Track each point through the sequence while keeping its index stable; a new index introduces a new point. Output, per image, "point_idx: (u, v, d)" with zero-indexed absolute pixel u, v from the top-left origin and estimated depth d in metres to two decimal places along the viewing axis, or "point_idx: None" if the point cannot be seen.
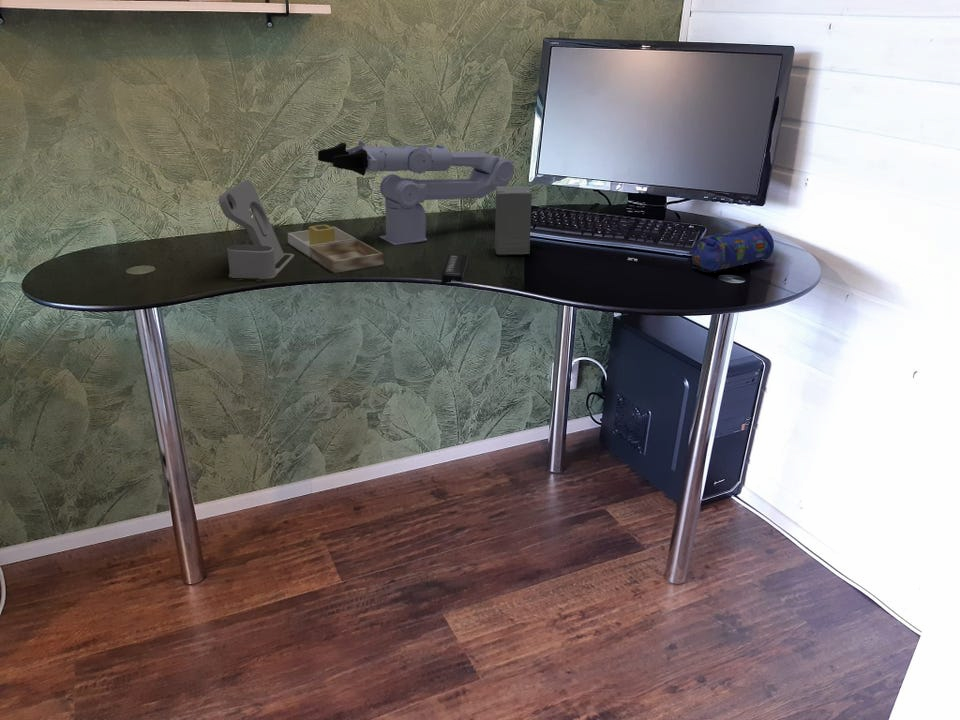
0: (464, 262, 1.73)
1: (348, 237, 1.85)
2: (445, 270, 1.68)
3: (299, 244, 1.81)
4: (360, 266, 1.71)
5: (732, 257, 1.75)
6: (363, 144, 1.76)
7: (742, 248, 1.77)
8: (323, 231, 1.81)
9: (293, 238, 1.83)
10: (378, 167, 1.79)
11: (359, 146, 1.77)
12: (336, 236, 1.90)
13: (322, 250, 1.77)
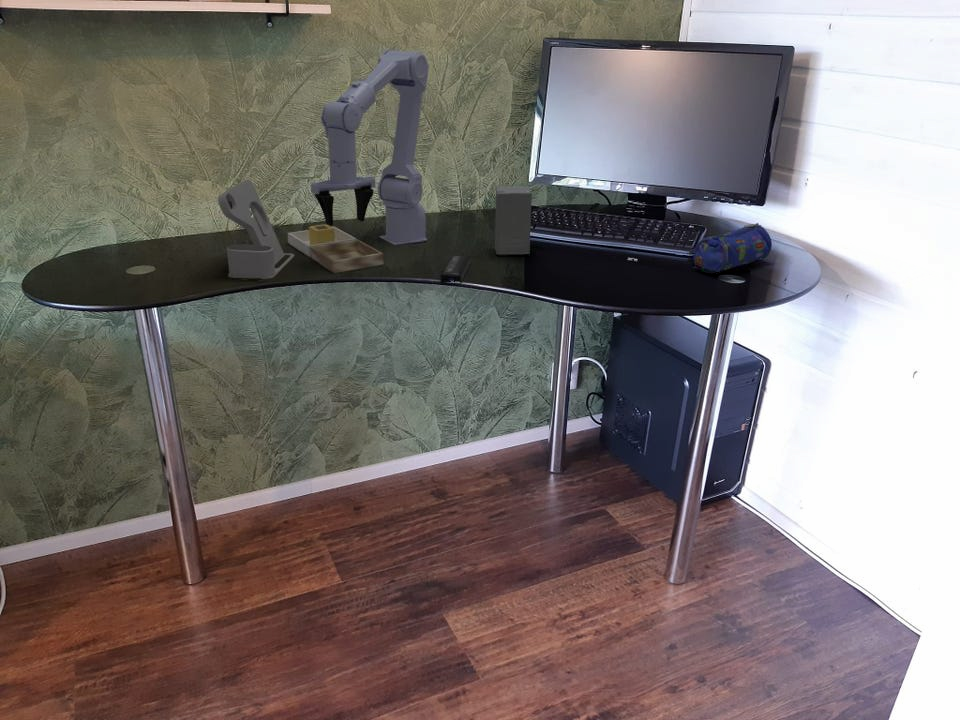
0: (466, 262, 1.73)
1: (348, 237, 1.85)
2: (445, 270, 1.68)
3: (299, 244, 1.81)
4: (360, 266, 1.71)
5: (735, 257, 1.75)
6: None
7: (743, 249, 1.77)
8: (323, 231, 1.81)
9: (293, 238, 1.83)
10: None
11: None
12: (336, 236, 1.90)
13: (322, 250, 1.77)
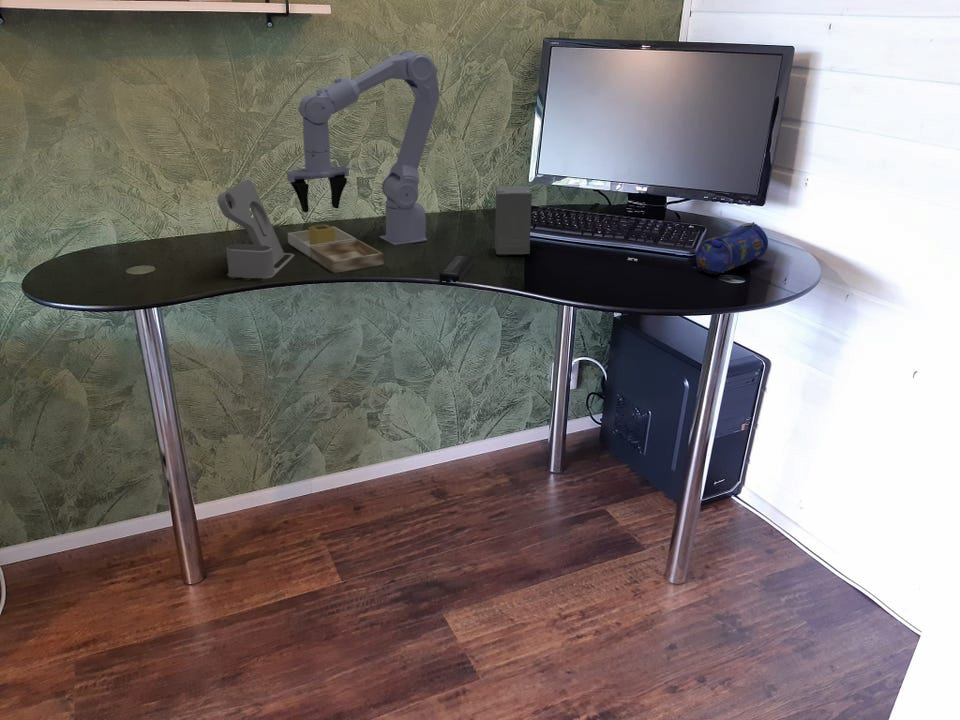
0: (467, 262, 1.73)
1: (348, 237, 1.85)
2: (444, 269, 1.68)
3: (299, 244, 1.81)
4: (360, 266, 1.71)
5: (737, 257, 1.75)
6: None
7: (744, 248, 1.77)
8: (323, 231, 1.81)
9: (293, 238, 1.83)
10: None
11: None
12: (336, 236, 1.90)
13: (322, 250, 1.77)
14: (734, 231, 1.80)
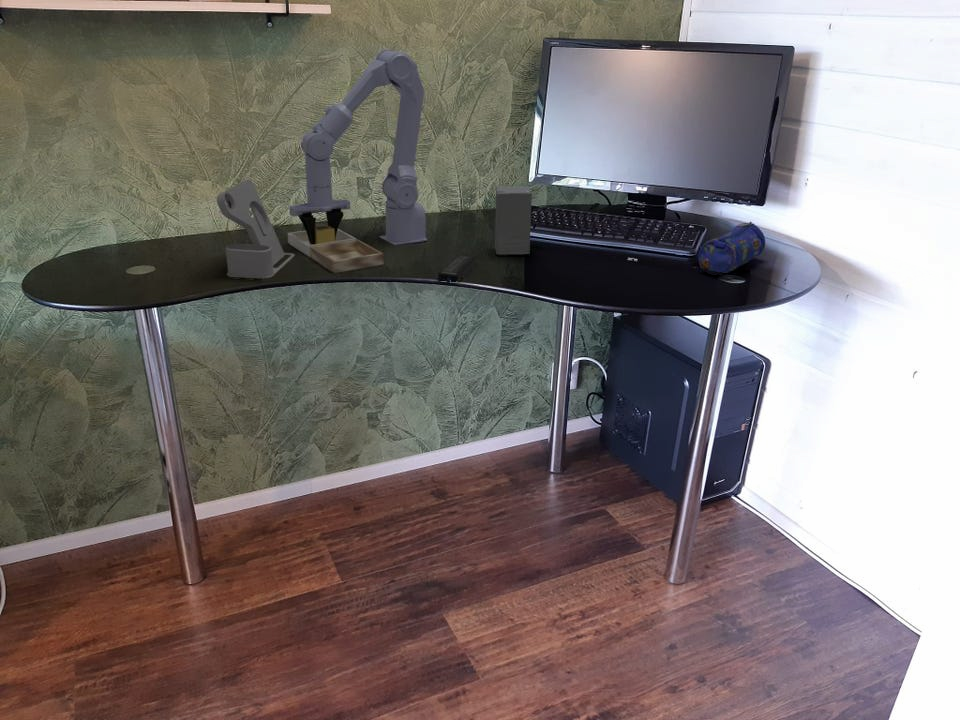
0: (469, 263, 1.73)
1: (348, 237, 1.85)
2: (444, 269, 1.68)
3: (299, 244, 1.81)
4: (360, 266, 1.71)
5: (740, 258, 1.75)
6: None
7: (745, 248, 1.77)
8: (323, 231, 1.81)
9: (293, 238, 1.83)
10: None
11: None
12: (336, 236, 1.90)
13: (322, 250, 1.77)
14: (734, 231, 1.80)
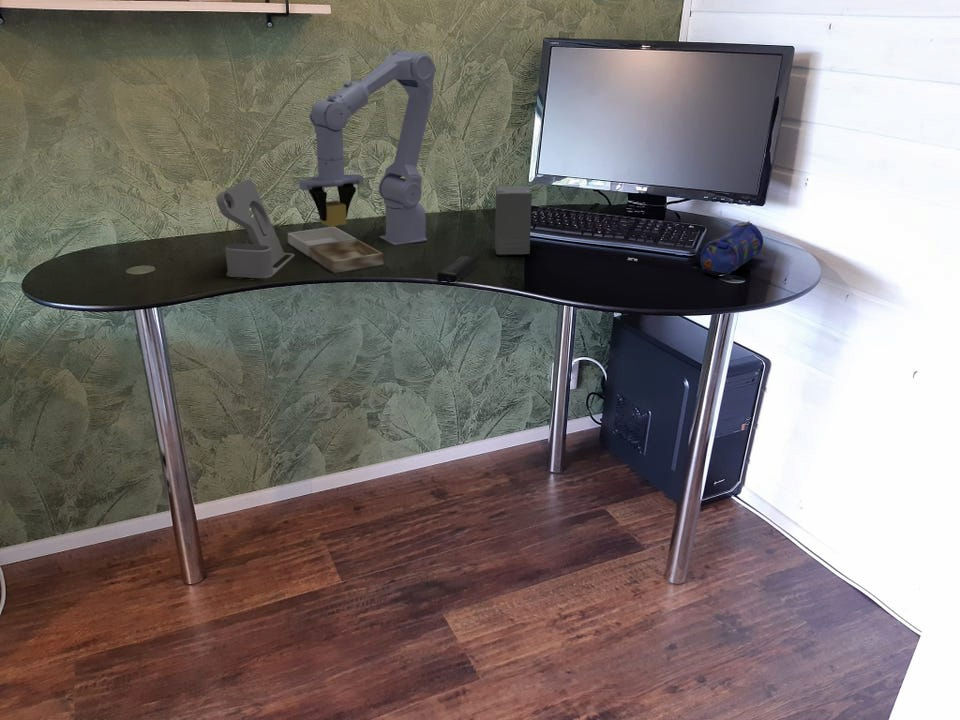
0: (470, 263, 1.72)
1: (348, 237, 1.85)
2: (444, 269, 1.68)
3: (299, 244, 1.81)
4: (360, 266, 1.71)
5: (741, 258, 1.75)
6: None
7: (746, 248, 1.77)
8: (333, 207, 1.73)
9: (293, 238, 1.83)
10: None
11: None
12: (336, 236, 1.90)
13: (322, 250, 1.77)
14: (734, 231, 1.79)
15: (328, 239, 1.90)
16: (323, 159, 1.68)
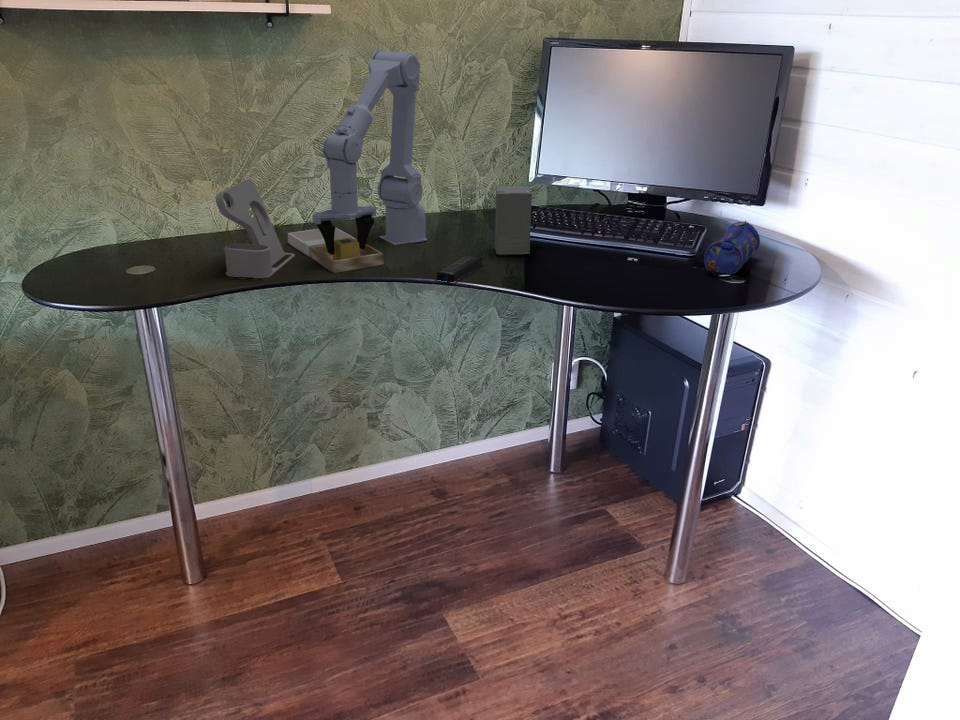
0: (471, 264, 1.72)
1: (348, 237, 1.85)
2: (443, 269, 1.68)
3: (299, 244, 1.81)
4: (360, 266, 1.71)
5: (744, 258, 1.75)
6: None
7: (747, 248, 1.77)
8: (347, 245, 1.72)
9: (293, 238, 1.83)
10: None
11: None
12: (336, 236, 1.90)
13: (322, 250, 1.77)
14: (734, 231, 1.79)
15: None
16: (337, 192, 1.66)
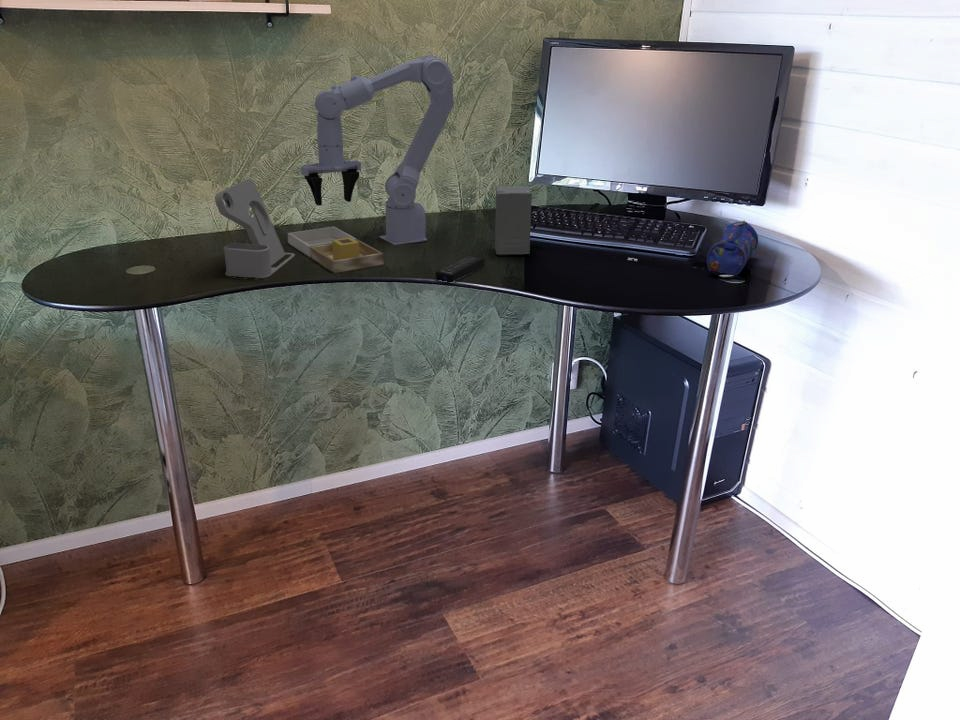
0: (472, 264, 1.72)
1: (348, 237, 1.85)
2: (443, 268, 1.69)
3: (299, 244, 1.81)
4: (360, 266, 1.71)
5: (746, 258, 1.75)
6: None
7: (749, 248, 1.77)
8: (347, 245, 1.72)
9: (293, 238, 1.83)
10: None
11: None
12: (336, 236, 1.90)
13: (322, 250, 1.77)
14: (734, 231, 1.79)
15: (328, 239, 1.90)
16: (323, 146, 1.77)
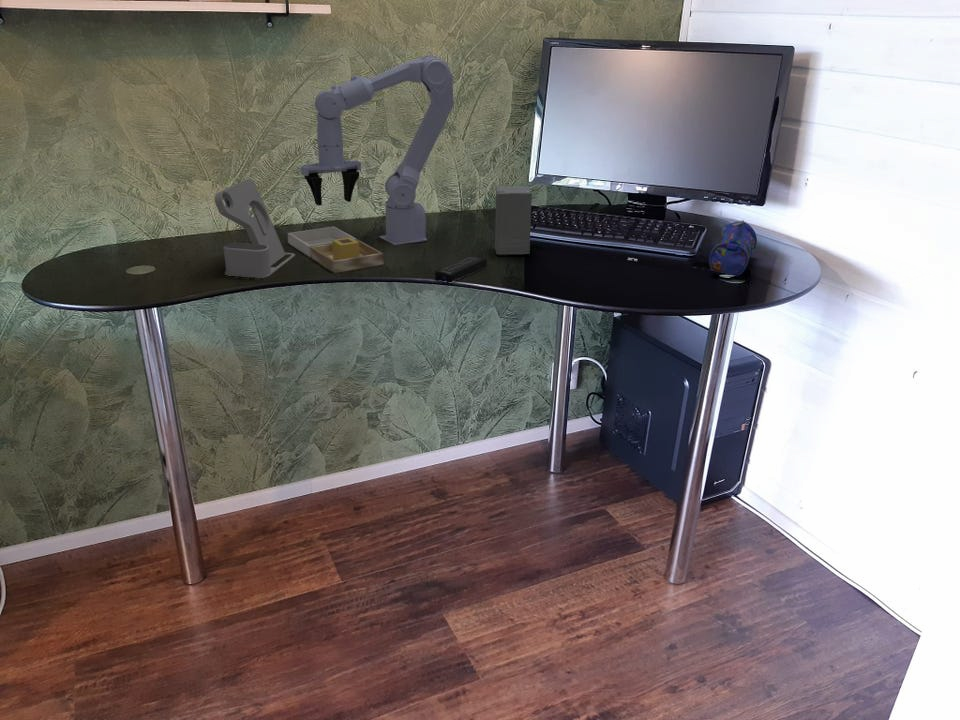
0: (473, 264, 1.72)
1: (348, 237, 1.85)
2: (443, 268, 1.69)
3: (299, 244, 1.81)
4: (360, 266, 1.71)
5: None
6: None
7: (750, 248, 1.77)
8: (347, 245, 1.72)
9: (293, 238, 1.83)
10: None
11: None
12: (336, 236, 1.90)
13: (322, 250, 1.77)
14: (734, 231, 1.79)
15: (328, 239, 1.90)
16: (323, 146, 1.77)
